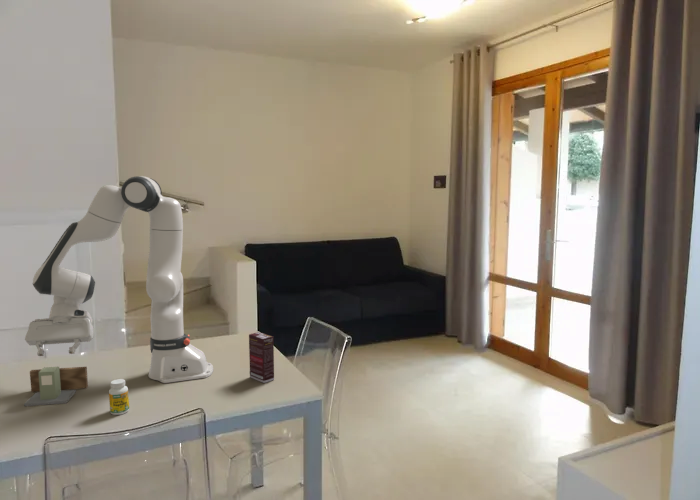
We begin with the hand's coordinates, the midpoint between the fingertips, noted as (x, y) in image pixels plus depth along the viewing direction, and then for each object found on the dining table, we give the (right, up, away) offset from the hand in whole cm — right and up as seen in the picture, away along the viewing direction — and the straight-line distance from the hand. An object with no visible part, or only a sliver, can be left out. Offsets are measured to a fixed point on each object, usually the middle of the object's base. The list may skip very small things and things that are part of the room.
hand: (56, 354), depth 169 cm
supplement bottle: (+27, -15, -13) cm, 33 cm away
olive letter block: (+1, -13, -4) cm, 13 cm away
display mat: (+1, -13, -4) cm, 14 cm away
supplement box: (+66, -12, +13) cm, 68 cm away
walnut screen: (-1, -12, +4) cm, 13 cm away
